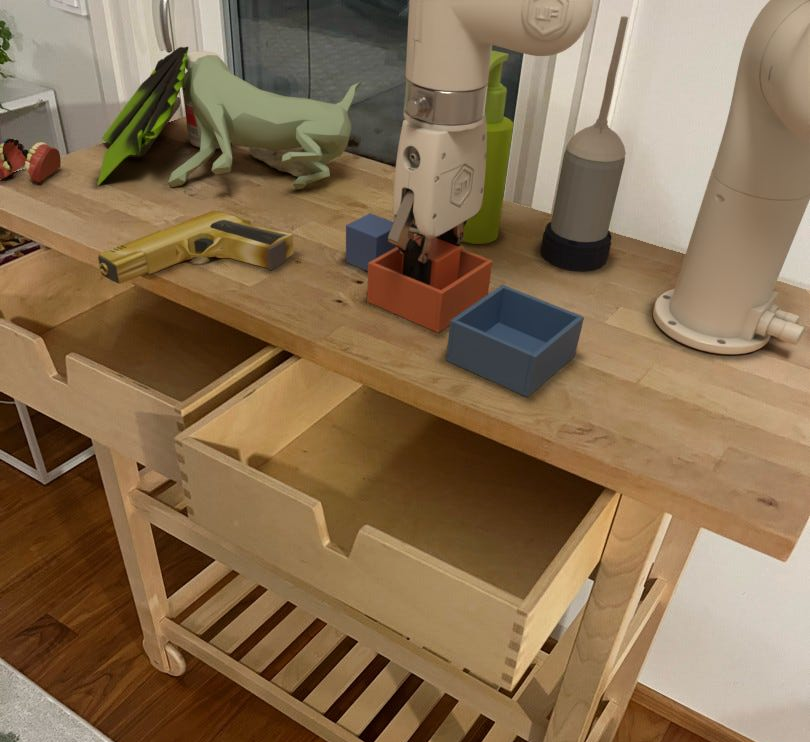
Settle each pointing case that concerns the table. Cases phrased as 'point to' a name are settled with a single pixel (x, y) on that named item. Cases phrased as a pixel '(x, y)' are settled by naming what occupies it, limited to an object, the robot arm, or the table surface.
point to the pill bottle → (190, 116)
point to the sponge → (275, 160)
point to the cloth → (145, 111)
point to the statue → (261, 122)
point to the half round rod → (146, 147)
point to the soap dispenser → (492, 158)
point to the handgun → (198, 246)
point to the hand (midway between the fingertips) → (429, 281)
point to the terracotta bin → (427, 289)
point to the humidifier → (587, 188)
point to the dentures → (28, 159)
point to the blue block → (367, 240)
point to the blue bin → (513, 339)
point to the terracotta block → (442, 263)
